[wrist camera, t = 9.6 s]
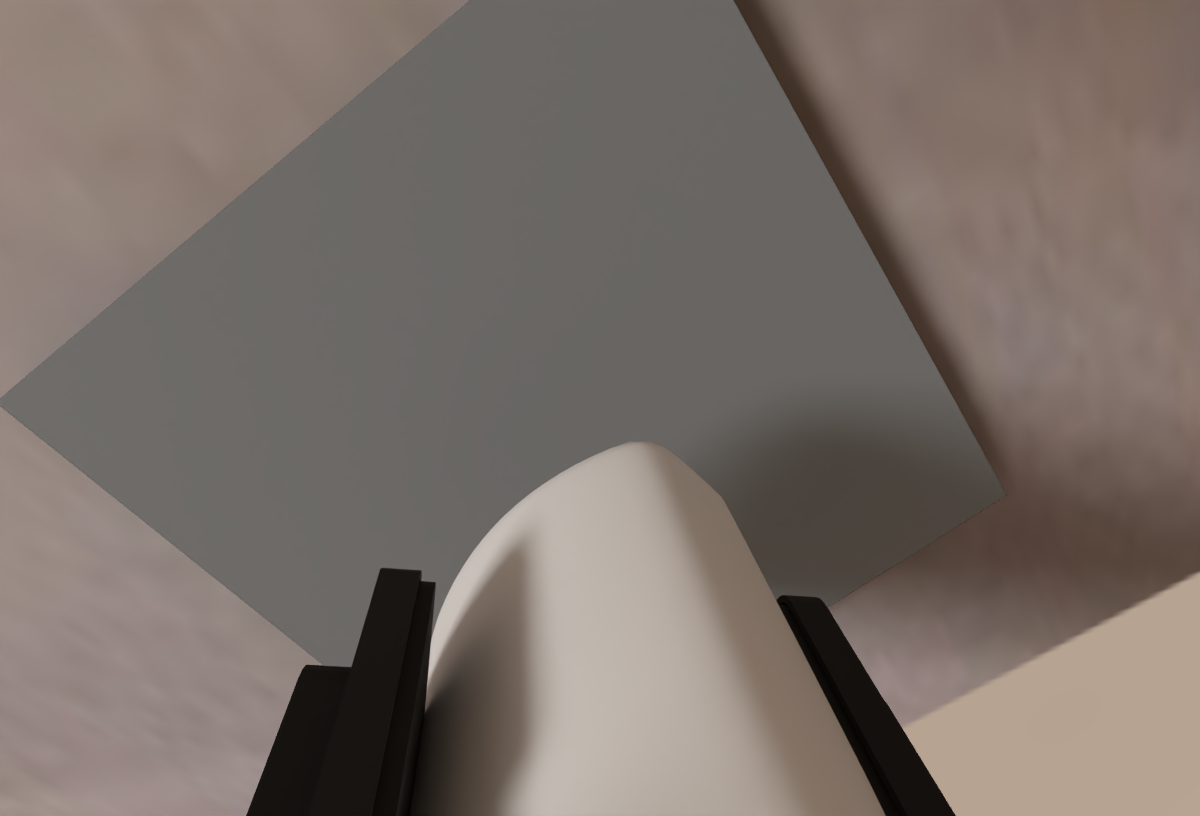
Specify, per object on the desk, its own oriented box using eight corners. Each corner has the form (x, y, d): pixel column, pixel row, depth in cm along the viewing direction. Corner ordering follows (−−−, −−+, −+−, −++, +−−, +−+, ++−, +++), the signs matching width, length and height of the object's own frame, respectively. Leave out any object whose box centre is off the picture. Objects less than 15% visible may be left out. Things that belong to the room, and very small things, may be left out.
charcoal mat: (26, 383, 15) (-5, 402, 15) (639, -135, 13) (649, -152, 12) (504, 779, 22) (504, 810, 21) (983, 476, 19) (1006, 494, 18)
